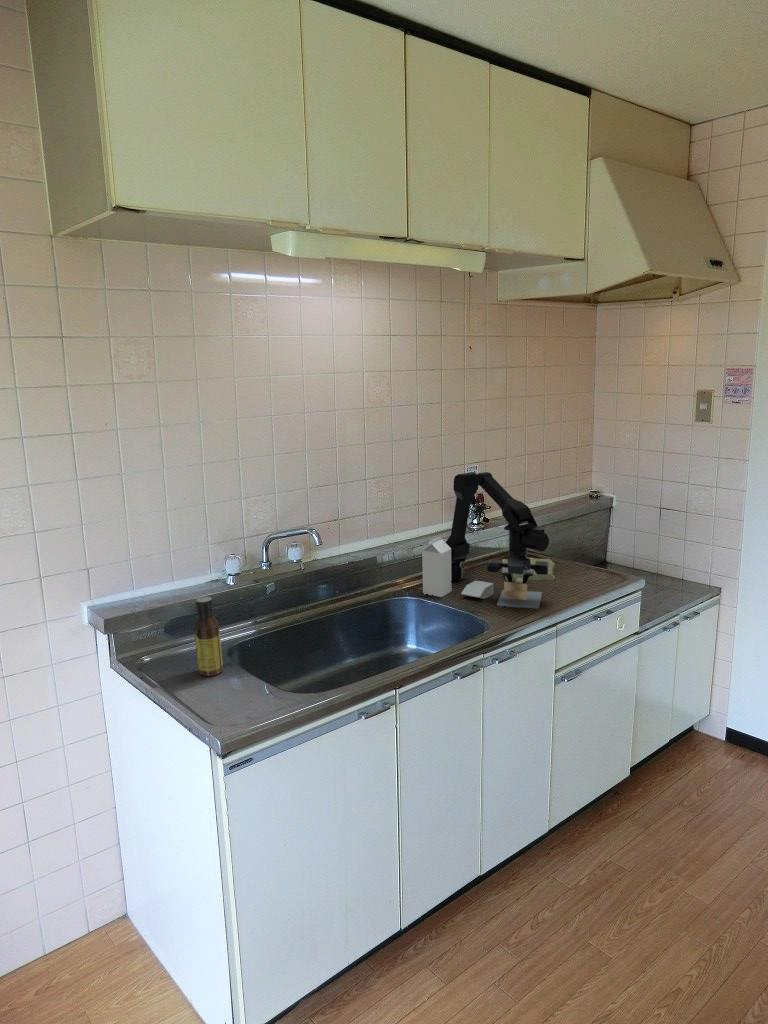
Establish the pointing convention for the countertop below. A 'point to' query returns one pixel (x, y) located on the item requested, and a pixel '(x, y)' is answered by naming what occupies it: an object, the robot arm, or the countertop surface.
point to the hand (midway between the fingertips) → (517, 592)
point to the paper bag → (479, 589)
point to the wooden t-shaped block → (515, 589)
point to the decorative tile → (535, 576)
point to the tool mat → (521, 601)
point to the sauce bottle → (207, 639)
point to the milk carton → (437, 568)
